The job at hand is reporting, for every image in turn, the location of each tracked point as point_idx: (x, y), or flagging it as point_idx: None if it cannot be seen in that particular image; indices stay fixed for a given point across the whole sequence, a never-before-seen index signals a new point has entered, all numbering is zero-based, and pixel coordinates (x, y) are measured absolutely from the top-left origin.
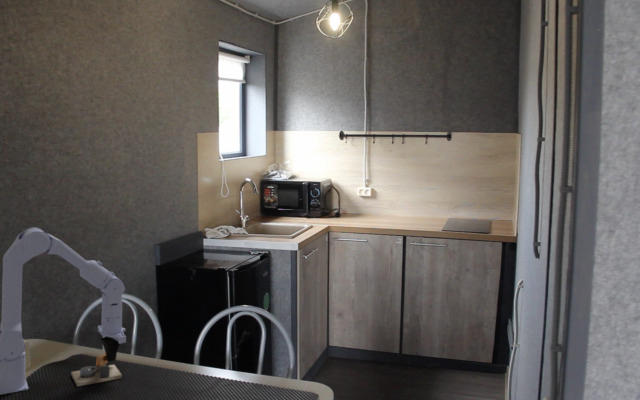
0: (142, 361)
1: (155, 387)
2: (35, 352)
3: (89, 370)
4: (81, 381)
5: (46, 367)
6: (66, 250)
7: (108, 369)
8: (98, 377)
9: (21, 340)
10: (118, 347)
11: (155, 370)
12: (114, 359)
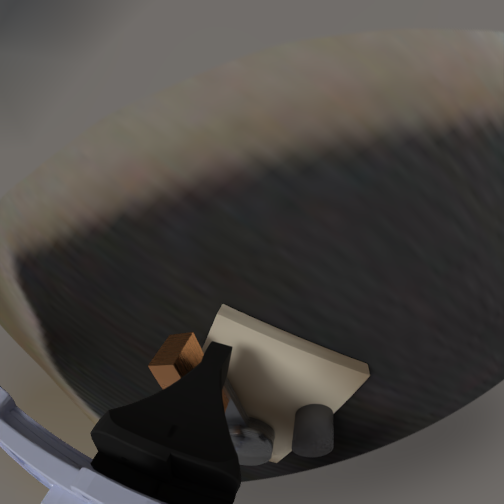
0: (258, 121)
1: None
2: None
3: (262, 458)
4: (277, 456)
5: (75, 383)
6: None
7: (333, 440)
8: None
9: None
10: (220, 402)
11: (444, 187)
12: (229, 354)
